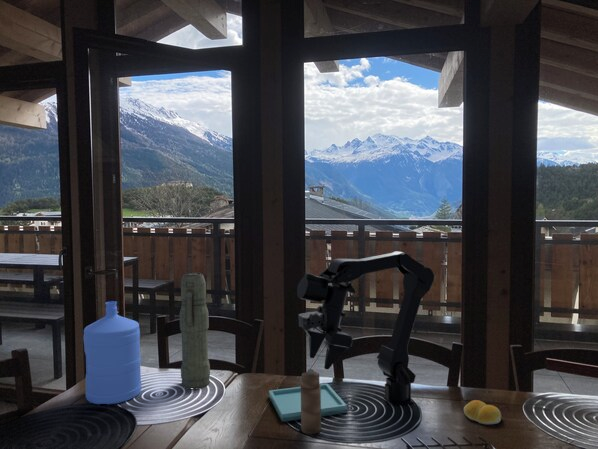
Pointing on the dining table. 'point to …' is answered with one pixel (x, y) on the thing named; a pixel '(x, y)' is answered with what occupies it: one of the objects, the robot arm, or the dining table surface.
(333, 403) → the teal tray
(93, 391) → the water jug
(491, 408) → the bread roll
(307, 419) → the pepper mill
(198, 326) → the thermos
